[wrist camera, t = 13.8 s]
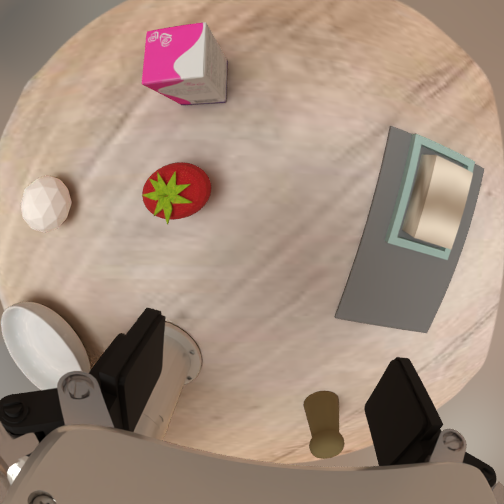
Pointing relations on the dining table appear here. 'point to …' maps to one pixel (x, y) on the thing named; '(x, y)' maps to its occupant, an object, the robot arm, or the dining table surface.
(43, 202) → the geometric ball
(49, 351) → the serving bowl
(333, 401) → the cork
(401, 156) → the charcoal mat
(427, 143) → the teal frame
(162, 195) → the strawberry
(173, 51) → the supplement box
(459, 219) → the beige block
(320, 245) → the dining table surface
